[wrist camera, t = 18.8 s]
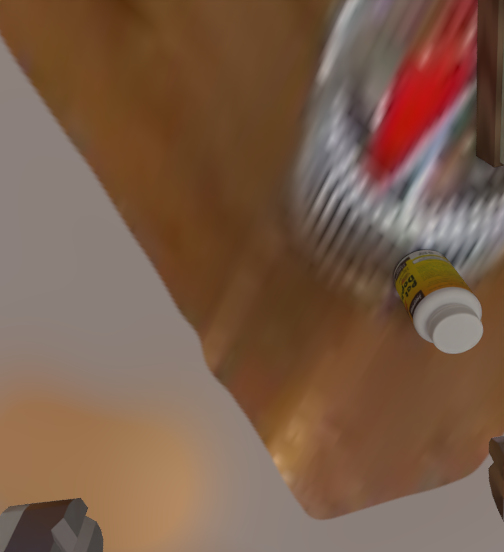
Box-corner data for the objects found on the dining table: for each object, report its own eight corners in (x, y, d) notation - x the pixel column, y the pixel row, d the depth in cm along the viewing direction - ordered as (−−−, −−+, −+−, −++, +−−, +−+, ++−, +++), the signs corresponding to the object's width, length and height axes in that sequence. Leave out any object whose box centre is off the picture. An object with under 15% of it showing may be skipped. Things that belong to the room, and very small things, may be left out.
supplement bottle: (394, 248, 45) (426, 306, 36) (453, 246, 45) (500, 303, 36) (389, 298, 48) (419, 363, 39) (445, 296, 48) (487, 361, 39)
